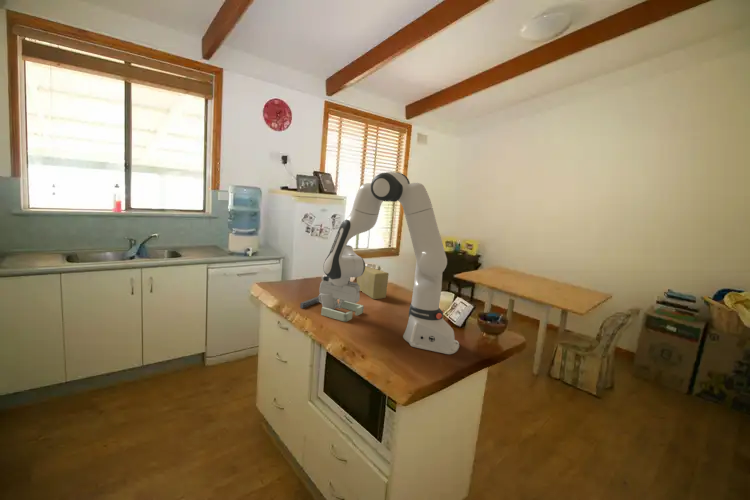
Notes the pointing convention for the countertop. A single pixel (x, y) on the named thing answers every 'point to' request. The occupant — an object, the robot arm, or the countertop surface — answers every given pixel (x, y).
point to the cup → (327, 300)
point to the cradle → (341, 315)
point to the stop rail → (309, 302)
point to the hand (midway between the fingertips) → (337, 307)
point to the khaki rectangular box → (373, 283)
